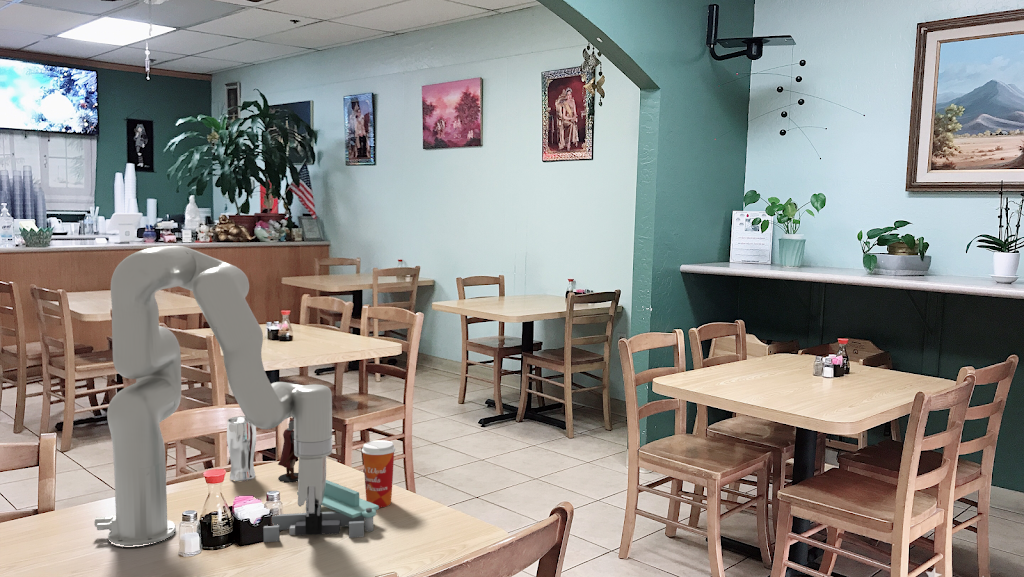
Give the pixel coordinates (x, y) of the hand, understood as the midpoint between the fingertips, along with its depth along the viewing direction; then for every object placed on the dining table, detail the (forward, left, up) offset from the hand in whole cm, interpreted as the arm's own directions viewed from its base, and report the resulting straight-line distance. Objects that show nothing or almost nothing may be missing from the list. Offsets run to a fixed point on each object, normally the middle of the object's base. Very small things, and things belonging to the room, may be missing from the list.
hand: (313, 532), depth 162 cm
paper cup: (+13, +18, -1) cm, 22 cm away
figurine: (-9, +38, -1) cm, 39 cm away
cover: (+5, +10, +2) cm, 11 cm away
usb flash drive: (+1, +3, -1) cm, 3 cm away
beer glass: (-21, +40, -1) cm, 45 cm away
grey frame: (0, +3, -1) cm, 3 cm away
